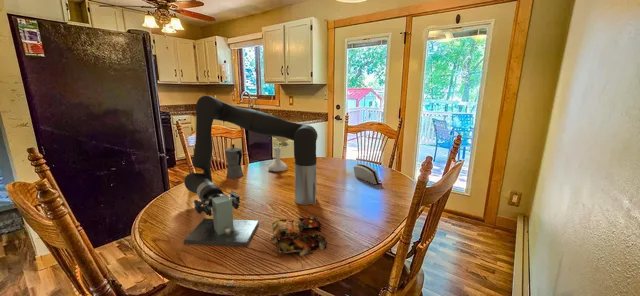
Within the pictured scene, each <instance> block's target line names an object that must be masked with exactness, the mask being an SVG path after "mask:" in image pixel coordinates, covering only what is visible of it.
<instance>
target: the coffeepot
mask: <svg viewBox="0 0 640 296" xmlns="http://www.w3.org/2000/svg"><path fill="white" fill-rule="evenodd" d="M235 146H236V145H235V143H234V144H231V147H227V148H225V149H224V153H225V157H226V162H227V169H226V177H227V178H229V179H237V178H241V177H242V176H243V177H244V174H243V173H244V172H243V168H242V159H243V158H242V157H243V153H242V152H243V149H242V148H241V147H235Z"/></svg>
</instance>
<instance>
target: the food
mask: <svg viewBox="0 0 640 296" xmlns="http://www.w3.org/2000/svg"><path fill="white" fill-rule="evenodd" d="M297 227H298V228H297ZM321 227H322V223H321V222H320V219H319V217H318V216H317V215H313V216H310V217H306V218H305V217H297V226H296V223H295V220H294V219H293V220H287V219H286V218H283V219H282V218H280V219H278V220H276V221H274V222H272V231H273V238H271V239H270V241H271V242H272V243H273V244H277V249H278V253H282V254H284V253H288V254H289V253H295V252H296V253H299V255H300V256H309V255H313V254H314V251H317V249H320V250H322V251H323V250H325V249H327V244H328V241H327V240H326V238H325V236H323V235H321V234H318V233H312V232H310V233H304V232H302V231H303V230H304V229H313V228H318V231H319V233H321V232H322V230H321ZM297 229H298V230H299V232H298V230H297Z"/></svg>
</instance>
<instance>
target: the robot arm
mask: <svg viewBox="0 0 640 296" xmlns="http://www.w3.org/2000/svg"><path fill="white" fill-rule="evenodd" d="M195 104H196V106H195V117H196V118H195V119H196V120H195V121H196V122H195V125H196V126H195V142H194V151H193V156H192V162H191V163H192V166H193V167H194V168H197V169H201V170H202V172H203V173H201V172H190V173H188V174H187V175H185V177H184V179H183V180H184V182H183V183H184V186H185V188H186V189H187V191H190V192H191V193H194V194H196V195H197V196H198V199H199V200H198V199H195V200H194V201H193V204H194V209H195V212H196V213H197V214H201V213H202V212H203V213H204V214H205V215H206V216H209V217H211V216H212V217H213V208H212V198H216V197H220V196H225V195H227V196H228V197H229V198H230V199H231V200H232V208H234V210H238V209H239V208H240V203H241V200H240V195H239V194H237V193H235V192H234V191H231V192H230V194H226V193H224V191H223V190H222V189H221V188H220V187H219V186H218V185H216V184H215V183H213V178H212V177H213V176H212V169H211V163H212V157H213V156H212V155H213V150H214V149H213V138H212V128H213V123H214V120H215V121H221V122H227V123H229V124H233V125H236V126H238V127H240V128H242V129H244V130H246V131H250V132H251V133H255V134H259V135H262V136H267V137H268V136H269V137H275V136H279V137H285V138H288V140H291V141H293V156H294V201H295V203H296V204H298V205H302V206H304V205H306V206H307V205H314V204H315V205H316V202H317V182H318V181H317V180H318V179H317V140H318V132H317V130H316V129H315V127H313V126H312V125H310V124H309V125H307V124H303V123H298V122H292V121H289V120H285V119H283V118H281V117H278V116H276V115H272V114H269V113H266V112H264V111H260V110H258V109H256V110H255V109H252V108H245V107H239V106H235V105H231V104H229V103H227V102H224V101H222V100H221V99H218V98H216V97H213V96H211V95H202V96H201V97H199V98H198V100H197V102H196V103H195Z"/></svg>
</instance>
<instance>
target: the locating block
mask: <svg viewBox="0 0 640 296" xmlns="http://www.w3.org/2000/svg"><path fill="white" fill-rule="evenodd" d="M227 195H228V194H226V195H225V196H220V197H216V198H212V217H213V218H212V219H213V221H214V229H215V231H216V232H217V233H218V235H220V234H223V233H225V228H226V227H230V231H233V230H234V226H233V220H234V213H233V206H232V200H231V199H230V198H229V197H228V196H227Z"/></svg>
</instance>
